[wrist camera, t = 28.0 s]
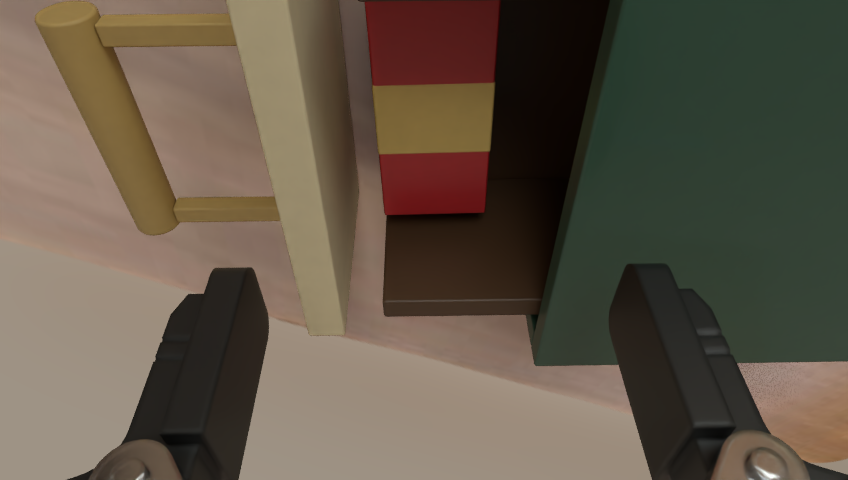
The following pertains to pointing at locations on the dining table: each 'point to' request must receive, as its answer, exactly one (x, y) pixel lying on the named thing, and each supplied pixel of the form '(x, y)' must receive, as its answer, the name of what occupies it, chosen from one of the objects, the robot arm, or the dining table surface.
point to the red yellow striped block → (433, 102)
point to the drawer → (334, 148)
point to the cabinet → (711, 177)
